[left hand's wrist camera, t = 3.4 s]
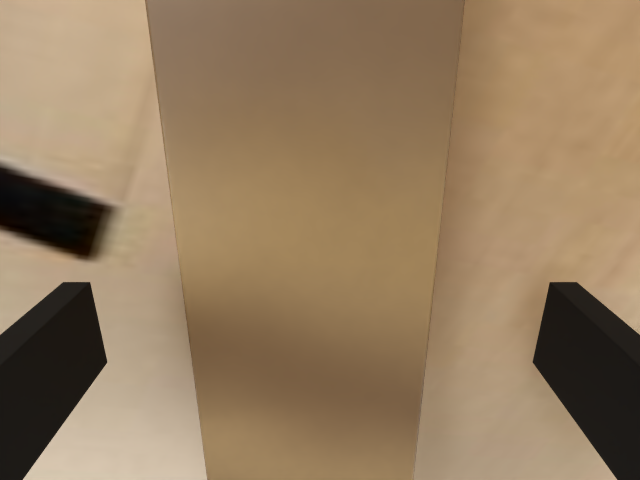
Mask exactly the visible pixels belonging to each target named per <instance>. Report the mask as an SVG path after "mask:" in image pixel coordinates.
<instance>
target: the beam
mask: <svg viewBox="0 0 640 480" xmlns="http://www.w3.org/2000/svg"><path fill="white" fill-rule="evenodd" d="M145 3H146V11H147V18H148V26H149V34H150V41H151V49H152V57H153V65H154V72H155V80H156V88H157V95H158V103H159V111H160V119H161V126H162V134H163V142H164V149H165V157H166V165H167V172H168V180H169V188H170V196H171V203H172V211H173V219H174V226H175V234H176V242H177V250H178V257H179V265H180V273H181V280H182V288H183V296H184V304H185V311H186V319H187V327H188V334H189V342H190V350H191V357H192V365H193V373H194V381H195V388H196V396H197V404H198V411H199V419H200V427H201V435H202V442H203V450H204V458H205V465H206V473H207V480H413V477H414V468H415V458H416V449H417V440H418V431H419V421H420V412H421V403H422V393H423V384H424V375H425V365H426V356H427V347H428V338H429V328H430V319H431V310H432V300H433V291H434V282H435V273H436V263H437V254H438V245H439V235H440V226H441V217H442V207H443V198H444V189H445V180H446V170H447V161H448V152H449V142H450V133H451V124H452V115H453V105H454V96H455V87H456V77H457V68H458V59H459V49H460V40H461V31H462V22H463V12H464V3H465V0H145Z"/></svg>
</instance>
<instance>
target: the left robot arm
mask: <svg viewBox="0 0 640 480" xmlns="http://www.w3.org/2000/svg"><path fill="white" fill-rule="evenodd" d="M106 363H107V359H106V354H105V349H104V345H103V340H102V335H101V331H100V326H99V321H98V317H97V312H96V307H95V303H94V298H93V294H92V289H91V284H90V282H63V283H62V284H61V285H59V286H58V287H57V288H56V289H55V290H53V291H52V292H51V293H50V294H49V295H47V296H46V297H45V298H44V299H43V300H42V301H40V302H39V303H38V304H37V305H36V306H34V307H33V308H32V309H31V310H30V311H28V312H27V313H26V314H25V315H24V316H22V317H21V318H20V319H19V320H18V321H16V322H15V323H14V324H13V325H12V326H10V327H9V328H8V329H7V330H6V331H4V332H3V333H2V334H1V335H0V480H23V478H24V477H25V476H26V474H27V473H28V472H29V470H30V469H31V467H32V466H33V465H34V463H35V462H36V460H37V459H38V458H39V456H40V455H41V453H42V452H43V451H44V449H45V448H46V447H47V445H48V444H49V442H50V441H51V440H52V438H53V437H54V435H55V434H56V433H57V431H58V430H59V429H60V427H61V426H62V424H63V423H64V422H65V420H66V419H67V417H68V416H69V415H70V413H71V412H72V411H73V409H74V408H75V406H76V405H77V404H78V402H79V401H80V399H81V398H82V397H83V395H84V394H85V392H86V391H87V390H88V388H89V387H90V386H91V384H92V383H93V381H94V380H95V379H96V377H97V376H98V374H99V373H100V372H101V370H102V369H103V368H104V366H105V365H106ZM533 363H534V365H535V366H536V368H537V369H538V370H539V372H540V373H541V374H542V376H543V377H544V379H545V380H546V381H547V383H548V384H549V386H550V387H551V388H552V390H553V391H554V392H555V394H556V395H557V397H558V398H559V399H560V401H561V402H562V404H563V405H564V406H565V408H566V409H567V411H568V412H569V413H570V415H571V416H572V417H573V419H574V420H575V422H576V423H577V424H578V426H579V427H580V429H581V430H582V431H583V433H584V434H585V435H586V437H587V438H588V440H589V441H590V442H591V444H592V445H593V447H594V448H595V449H596V451H597V452H598V453H599V455H600V456H601V458H602V459H603V460H604V462H605V463H606V465H607V466H608V467H609V469H610V470H611V472H612V473H613V474H614V476H615V477H616V478H617V480H640V335H639V334H638V333H637V332H636V331H634V330H633V329H632V328H631V327H630V326H628V325H627V324H626V323H625V322H624V321H622V320H621V319H620V318H619V317H618V316H616V315H615V314H614V313H613V312H612V311H610V310H609V309H608V308H607V307H606V306H604V305H603V304H602V303H601V302H600V301H598V300H597V299H596V298H595V297H594V296H593V295H591V294H590V293H589V292H588V291H587V290H585V289H584V288H583V287H582V286H581V285H579V284H578V283H577V282H550V284H549V289H548V294H547V298H546V303H545V307H544V312H543V317H542V321H541V326H540V331H539V335H538V340H537V345H536V349H535V354H534V359H533Z"/></svg>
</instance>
